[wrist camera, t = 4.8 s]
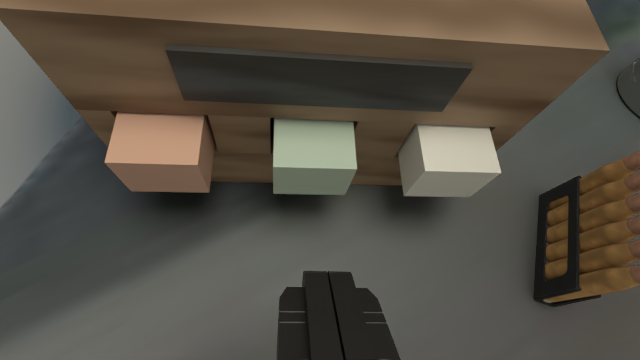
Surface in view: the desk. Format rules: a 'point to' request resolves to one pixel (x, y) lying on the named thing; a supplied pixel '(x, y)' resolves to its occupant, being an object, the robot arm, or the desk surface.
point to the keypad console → (310, 66)
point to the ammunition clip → (589, 235)
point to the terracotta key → (162, 152)
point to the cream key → (447, 160)
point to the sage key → (313, 156)
